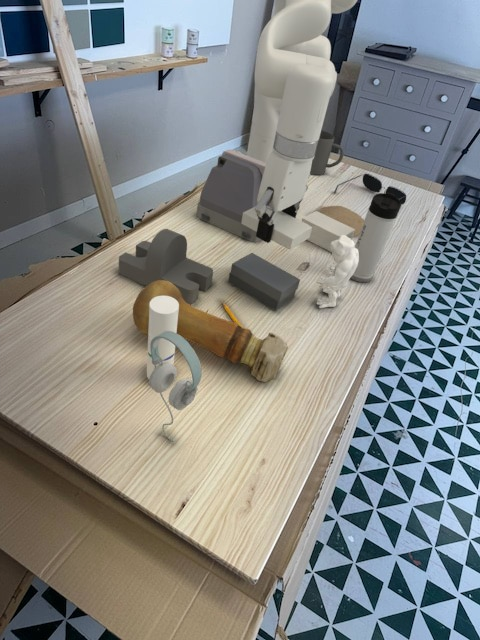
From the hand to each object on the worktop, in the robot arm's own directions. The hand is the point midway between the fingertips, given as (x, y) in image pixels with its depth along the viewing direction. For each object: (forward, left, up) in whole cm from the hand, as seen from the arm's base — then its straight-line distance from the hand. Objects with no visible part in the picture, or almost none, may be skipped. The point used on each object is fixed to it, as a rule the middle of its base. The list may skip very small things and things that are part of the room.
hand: (274, 232), depth 93 cm
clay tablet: (-5, +43, -14) cm, 46 cm away
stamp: (+4, -23, -14) cm, 28 cm away
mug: (-28, +70, -14) cm, 77 cm away
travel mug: (+12, +23, -14) cm, 30 cm away
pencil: (+6, -15, -14) cm, 21 cm away
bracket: (-16, -14, -14) cm, 25 cm away
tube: (+3, -34, -14) cm, 37 cm away
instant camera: (-23, +21, -14) cm, 34 cm away
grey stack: (0, -1, -14) cm, 14 cm away
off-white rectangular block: (-2, +30, -14) cm, 33 cm away
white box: (0, 0, 0) cm, 0 cm away
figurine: (+12, +8, -14) cm, 20 cm away
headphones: (+13, -42, -14) cm, 46 cm away
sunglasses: (-6, +65, -14) cm, 67 cm away
